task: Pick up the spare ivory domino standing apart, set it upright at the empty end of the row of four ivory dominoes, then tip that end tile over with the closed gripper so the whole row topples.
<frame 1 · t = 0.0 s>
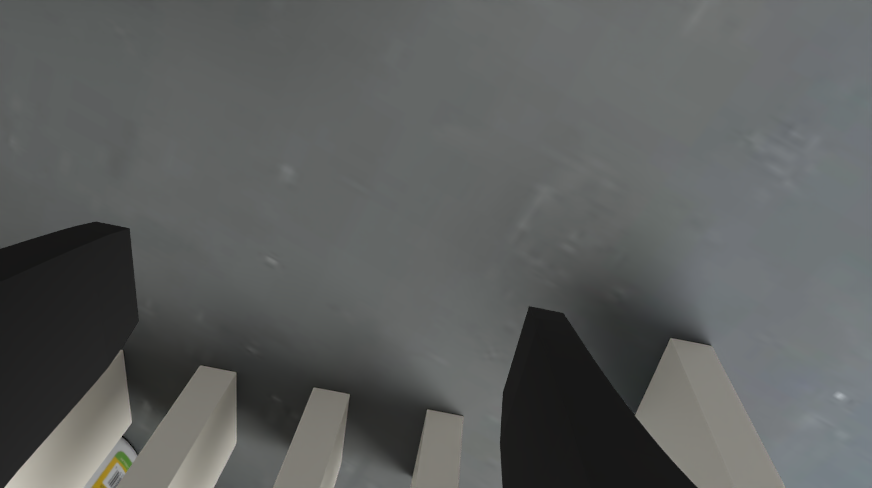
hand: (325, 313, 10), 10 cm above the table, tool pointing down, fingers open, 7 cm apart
domino 4: (219, 405, 26), on the table
supplement bottle: (93, 451, 29), on the table
domino 2: (436, 448, 26), on the table
domino 3: (327, 426, 26), on the table
domino 5: (110, 384, 26), on the table
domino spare: (670, 384, 23), on the table
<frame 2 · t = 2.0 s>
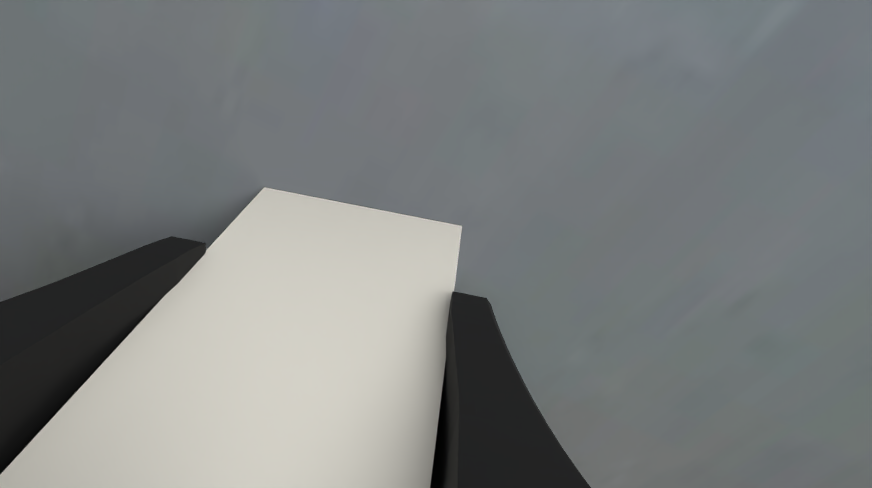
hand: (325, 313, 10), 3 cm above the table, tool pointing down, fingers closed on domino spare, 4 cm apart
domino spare: (359, 238, 13), on the table, touching gripper
when the fingers open (4 cm above the table, at t = 4.9 s): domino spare stays where it is, on the table.
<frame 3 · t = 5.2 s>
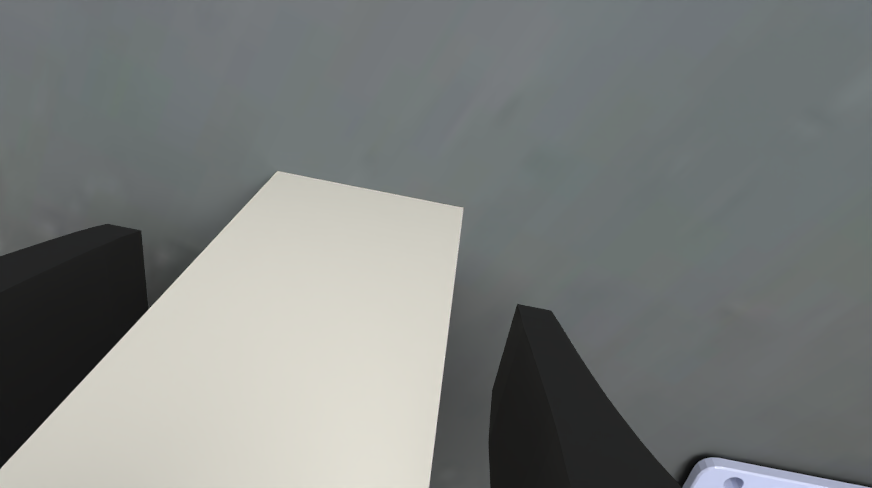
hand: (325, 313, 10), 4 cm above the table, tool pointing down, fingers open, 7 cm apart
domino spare: (366, 219, 14), on the table
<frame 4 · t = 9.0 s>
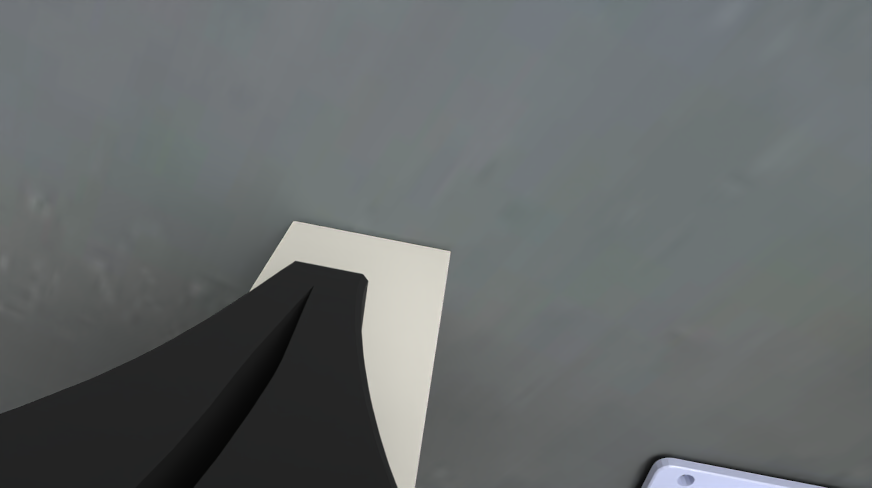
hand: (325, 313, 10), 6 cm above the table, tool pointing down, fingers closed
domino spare: (369, 259, 16), on the table
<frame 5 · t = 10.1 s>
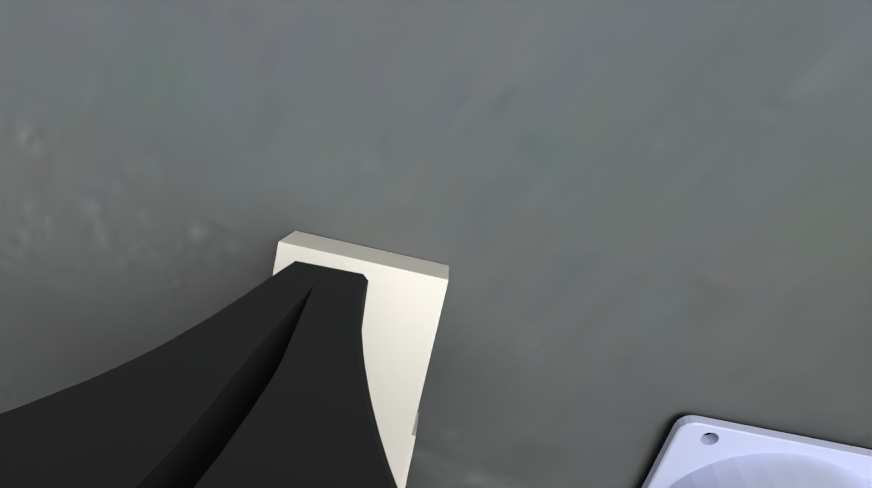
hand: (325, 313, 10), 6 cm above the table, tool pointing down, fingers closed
domino 2: (348, 409, 18), point 1 cm above the table, tilted 71°, touching domino 3, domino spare
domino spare: (368, 254, 15), point 1 cm above the table, tilted 72°, touching domino 2
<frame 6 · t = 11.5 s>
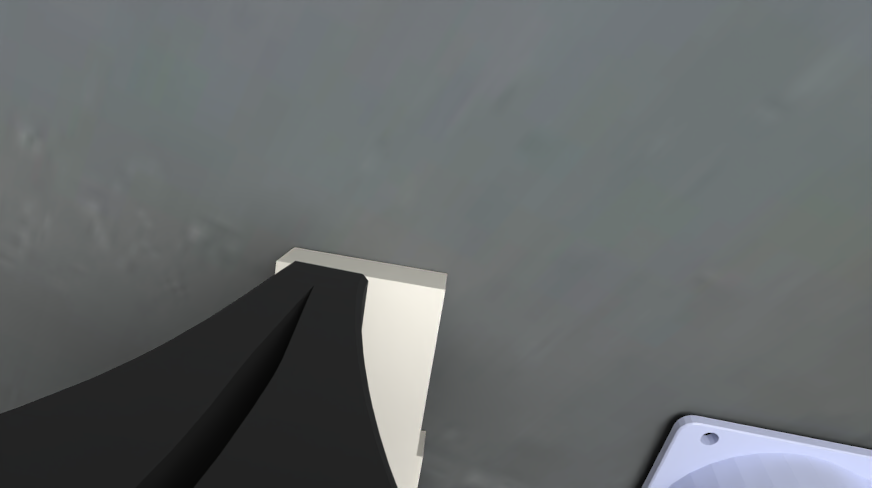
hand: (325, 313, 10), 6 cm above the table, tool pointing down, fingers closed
domino 2: (357, 431, 19), point 1 cm above the table, tilted 72°, touching domino 3, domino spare
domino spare: (365, 267, 16), point 1 cm above the table, tilted 74°, touching domino 2
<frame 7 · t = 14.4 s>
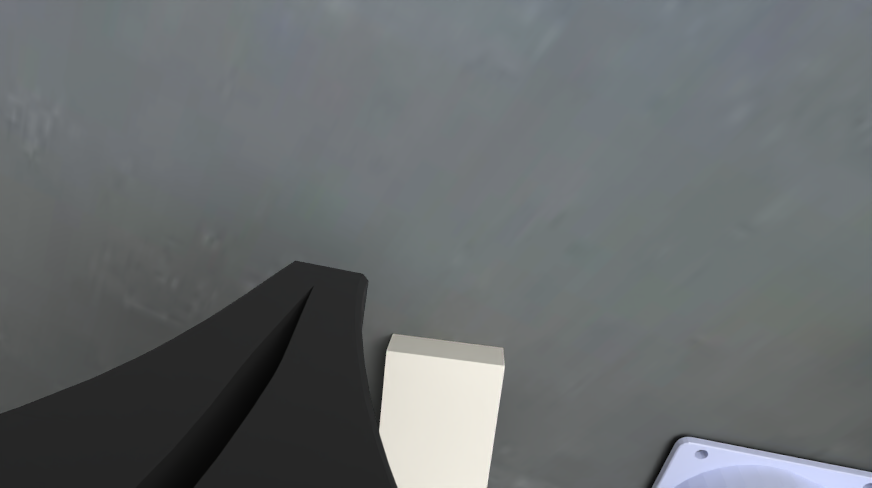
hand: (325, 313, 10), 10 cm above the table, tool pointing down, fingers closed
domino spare: (446, 349, 22), point 1 cm above the table, tilted 76°, touching domino 2
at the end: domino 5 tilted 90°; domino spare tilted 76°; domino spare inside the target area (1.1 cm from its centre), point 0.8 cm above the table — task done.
